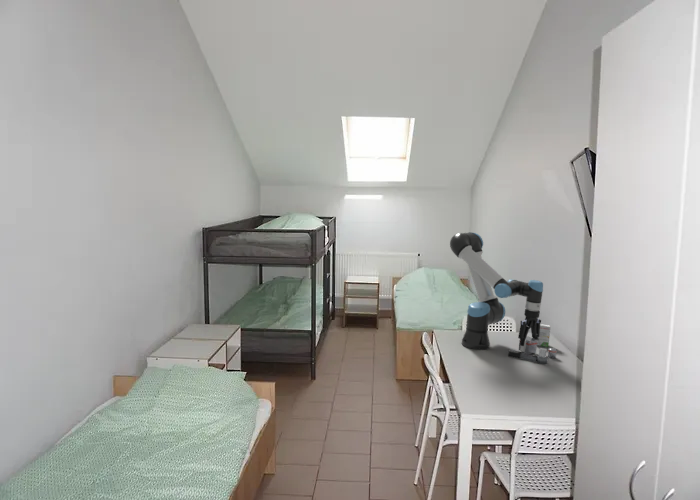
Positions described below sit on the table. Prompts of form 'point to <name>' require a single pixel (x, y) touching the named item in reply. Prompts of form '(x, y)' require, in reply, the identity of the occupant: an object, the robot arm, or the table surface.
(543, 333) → the ink box
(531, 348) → the socket
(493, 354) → the table surface
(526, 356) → the ratchet
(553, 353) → the socket small
